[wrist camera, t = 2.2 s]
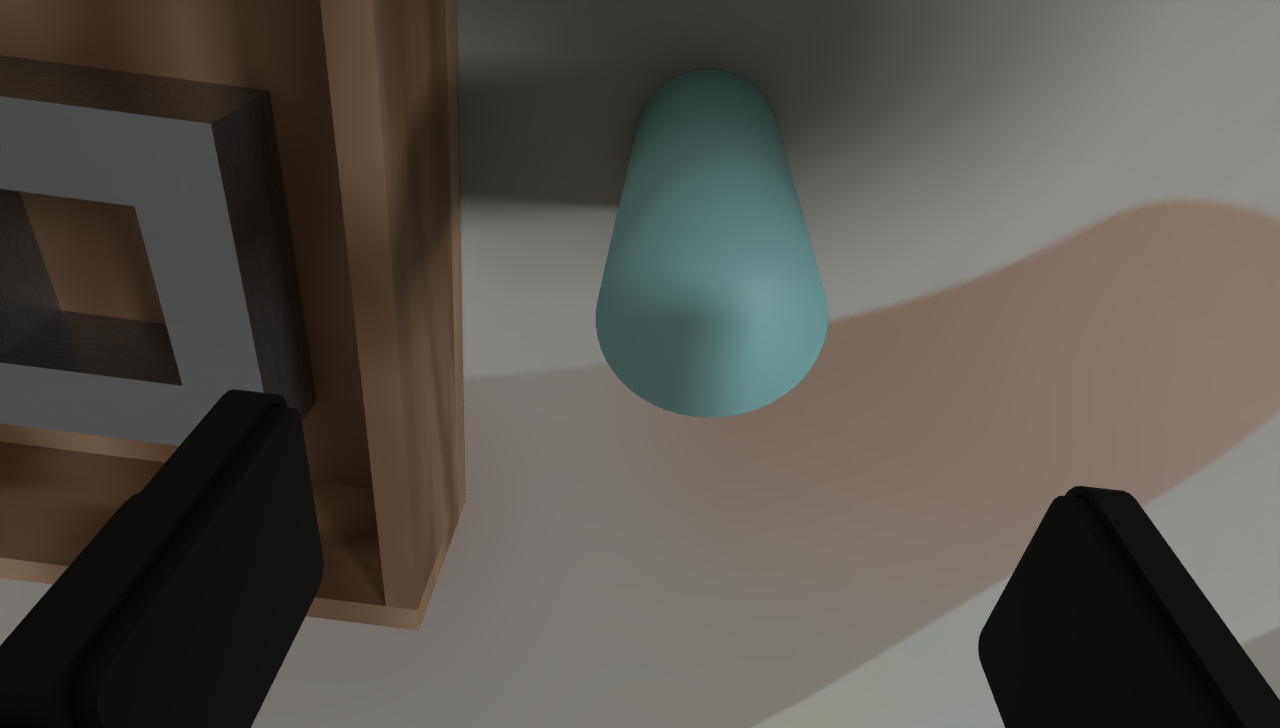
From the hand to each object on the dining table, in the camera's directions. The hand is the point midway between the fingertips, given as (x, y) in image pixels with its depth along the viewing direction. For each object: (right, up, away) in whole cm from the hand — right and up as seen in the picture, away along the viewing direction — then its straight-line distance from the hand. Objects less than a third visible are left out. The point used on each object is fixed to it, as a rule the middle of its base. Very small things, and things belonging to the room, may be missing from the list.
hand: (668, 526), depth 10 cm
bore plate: (-16, +6, +15) cm, 22 cm away
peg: (+2, +8, +12) cm, 15 cm away
